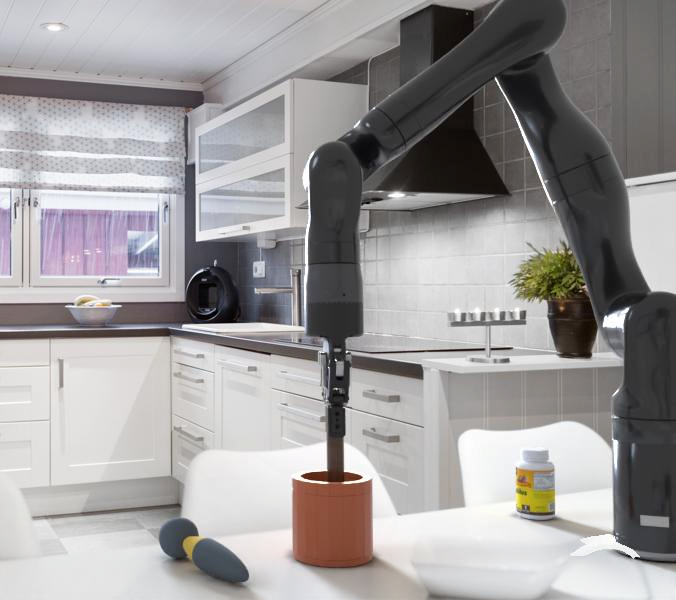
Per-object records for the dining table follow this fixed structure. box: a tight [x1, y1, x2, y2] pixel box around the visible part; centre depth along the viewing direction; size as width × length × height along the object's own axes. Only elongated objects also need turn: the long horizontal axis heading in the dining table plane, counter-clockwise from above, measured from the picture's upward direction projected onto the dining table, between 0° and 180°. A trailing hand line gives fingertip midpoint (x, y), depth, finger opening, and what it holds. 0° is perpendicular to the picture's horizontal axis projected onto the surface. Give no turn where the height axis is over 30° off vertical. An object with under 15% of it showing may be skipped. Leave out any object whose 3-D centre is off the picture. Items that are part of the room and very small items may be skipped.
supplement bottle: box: [515, 446, 556, 521], centre depth 126 cm, size 6×6×10 cm
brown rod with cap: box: [325, 398, 345, 482], centre depth 106 cm, size 5×5×16 cm
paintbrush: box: [158, 516, 250, 584], centre depth 100 cm, size 20×5×5 cm, turn 38°
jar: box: [291, 469, 374, 568], centre depth 105 cm, size 10×10×10 cm
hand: (335, 434), depth 106 cm, fingers closed on brown rod with cap
